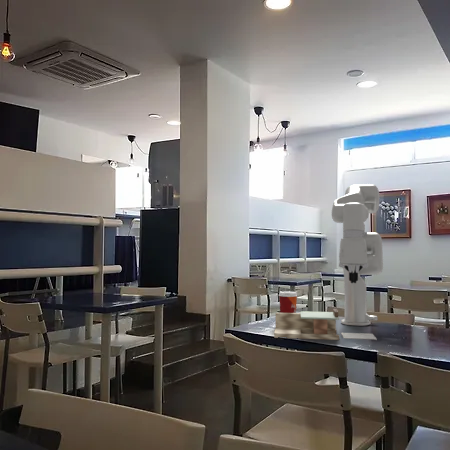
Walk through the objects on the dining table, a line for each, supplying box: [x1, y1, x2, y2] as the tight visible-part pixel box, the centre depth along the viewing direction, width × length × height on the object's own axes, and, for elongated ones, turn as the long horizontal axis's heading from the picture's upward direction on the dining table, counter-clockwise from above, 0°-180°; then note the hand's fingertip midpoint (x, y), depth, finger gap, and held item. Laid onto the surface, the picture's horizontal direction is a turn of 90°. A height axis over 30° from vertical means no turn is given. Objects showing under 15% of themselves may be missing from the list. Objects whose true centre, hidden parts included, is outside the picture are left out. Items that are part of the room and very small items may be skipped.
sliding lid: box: [299, 308, 340, 321], centre depth 183 cm, size 14×15×3 cm
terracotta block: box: [313, 319, 327, 334], centre depth 181 cm, size 5×5×7 cm
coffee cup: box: [278, 291, 298, 313], centre depth 202 cm, size 8×8×15 cm
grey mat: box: [340, 332, 378, 341], centre depth 181 cm, size 12×10×1 cm
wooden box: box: [273, 312, 340, 341], centre depth 184 cm, size 24×16×8 cm, turn 82°
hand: (353, 282), depth 180 cm, fingers closed
